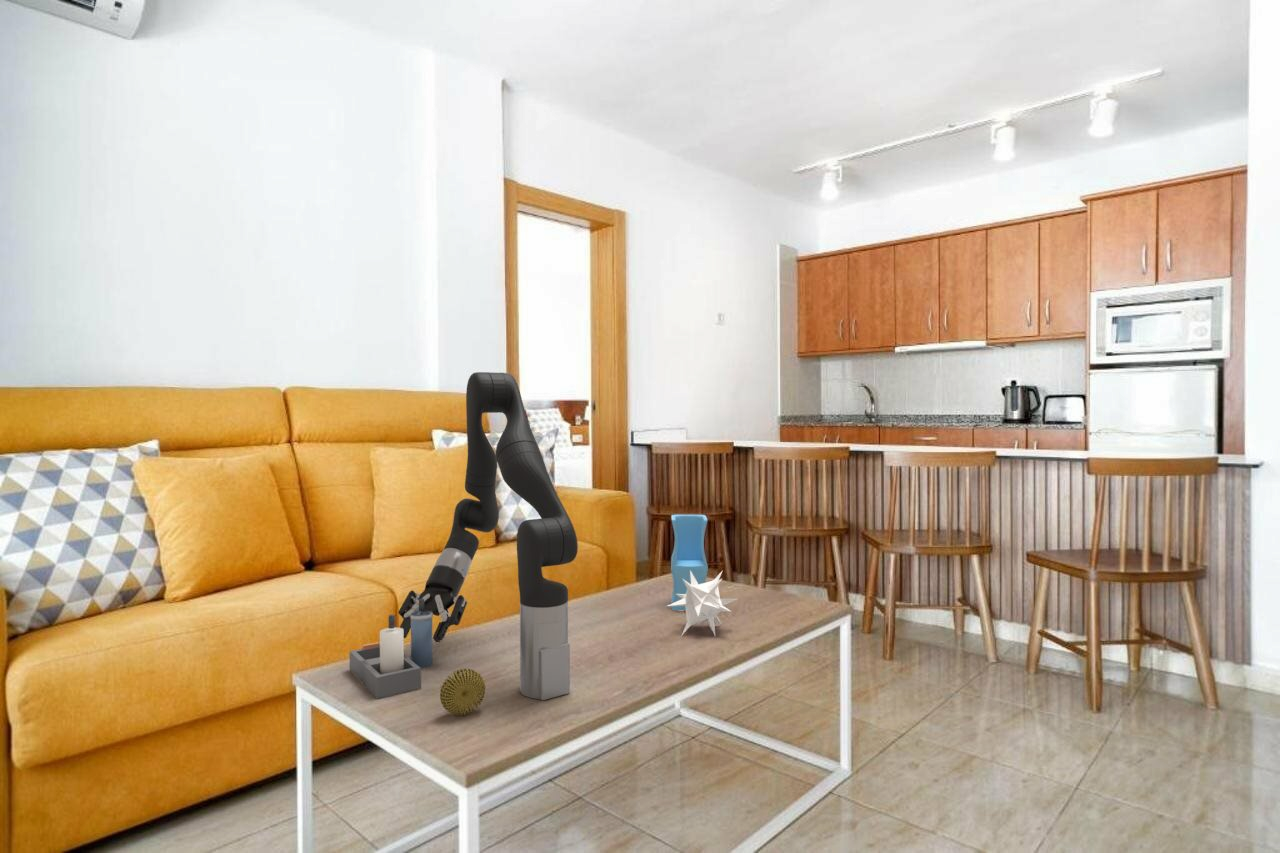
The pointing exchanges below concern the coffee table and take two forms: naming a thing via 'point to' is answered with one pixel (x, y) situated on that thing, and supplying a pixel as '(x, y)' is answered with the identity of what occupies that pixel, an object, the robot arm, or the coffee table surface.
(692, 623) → the star ornament
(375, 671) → the gray two-compartment caddy
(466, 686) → the sculpture
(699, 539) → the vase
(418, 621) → the canister
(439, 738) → the coffee table surface
